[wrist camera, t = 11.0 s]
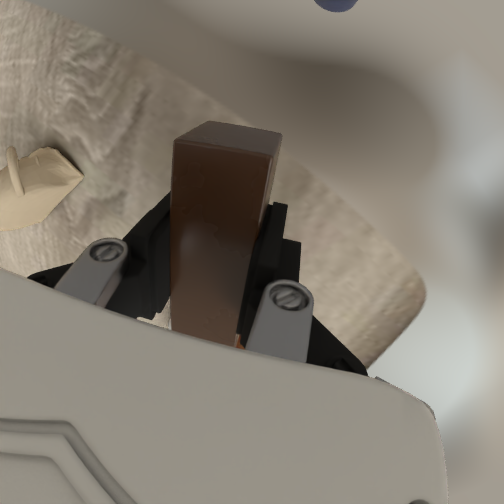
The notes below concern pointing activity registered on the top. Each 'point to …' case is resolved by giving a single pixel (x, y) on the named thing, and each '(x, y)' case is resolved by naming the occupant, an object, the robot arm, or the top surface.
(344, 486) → the robot arm
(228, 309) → the knife
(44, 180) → the decorative ornament
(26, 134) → the top surface
